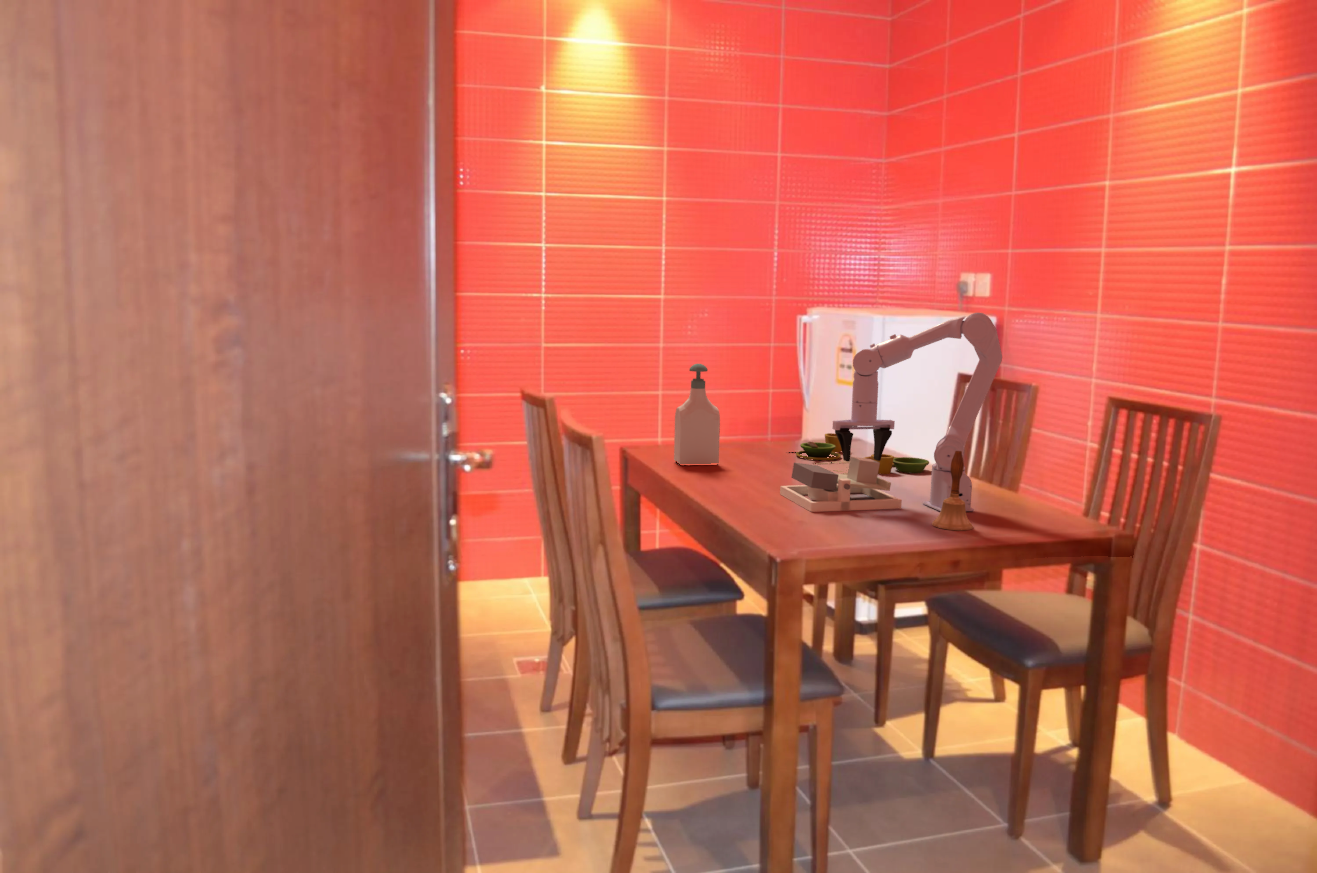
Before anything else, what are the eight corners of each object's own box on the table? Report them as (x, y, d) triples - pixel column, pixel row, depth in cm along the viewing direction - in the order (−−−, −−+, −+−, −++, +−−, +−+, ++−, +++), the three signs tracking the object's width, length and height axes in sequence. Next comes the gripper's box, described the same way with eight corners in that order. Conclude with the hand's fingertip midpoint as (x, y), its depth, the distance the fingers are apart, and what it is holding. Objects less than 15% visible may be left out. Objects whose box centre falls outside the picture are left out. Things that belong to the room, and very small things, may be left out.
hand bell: (965, 521, 225) (970, 448, 223) (978, 531, 217) (983, 454, 214) (927, 521, 225) (931, 447, 222) (938, 530, 216) (943, 454, 214)
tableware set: (780, 453, 312) (780, 432, 311) (863, 450, 320) (864, 429, 319) (847, 479, 273) (848, 455, 272) (940, 475, 282) (941, 451, 281)
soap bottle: (710, 460, 295) (713, 362, 290) (718, 465, 287) (721, 364, 282) (672, 461, 292) (674, 362, 288) (679, 466, 284) (681, 364, 280)
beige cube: (875, 484, 242) (879, 462, 241) (856, 481, 240) (859, 460, 240) (866, 479, 247) (870, 458, 246) (846, 477, 245) (850, 456, 245)
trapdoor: (888, 497, 238) (891, 481, 238) (812, 488, 234) (815, 472, 233) (861, 485, 252) (864, 470, 251) (789, 476, 247) (792, 461, 246)
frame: (902, 509, 236) (904, 479, 235) (812, 512, 231) (813, 482, 230) (863, 490, 256) (864, 463, 255) (778, 493, 251) (779, 465, 250)
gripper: (886, 399, 247) (883, 456, 249) (828, 400, 243) (825, 458, 245) (899, 403, 240) (896, 461, 242) (840, 403, 236) (838, 463, 238)
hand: (861, 460), depth 243 cm, fingers open, 7 cm apart
